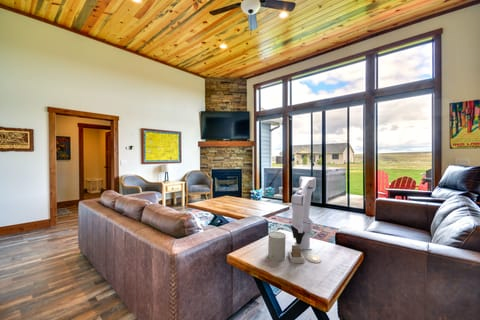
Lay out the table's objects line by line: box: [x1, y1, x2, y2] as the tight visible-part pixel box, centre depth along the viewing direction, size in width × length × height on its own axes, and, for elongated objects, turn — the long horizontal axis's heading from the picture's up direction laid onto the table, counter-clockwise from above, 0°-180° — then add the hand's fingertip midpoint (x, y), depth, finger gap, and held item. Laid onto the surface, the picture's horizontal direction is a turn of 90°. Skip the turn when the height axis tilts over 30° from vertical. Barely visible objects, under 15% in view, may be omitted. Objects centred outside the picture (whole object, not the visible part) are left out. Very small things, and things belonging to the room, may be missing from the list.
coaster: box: [305, 254, 323, 264], centre depth 116 cm, size 8×8×1 cm
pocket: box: [287, 250, 305, 264], centre depth 115 cm, size 7×7×2 cm
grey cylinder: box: [267, 231, 287, 262], centre depth 118 cm, size 10×10×12 cm
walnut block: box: [291, 244, 302, 257], centre depth 115 cm, size 4×4×7 cm
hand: (296, 240), depth 115 cm, fingers open, 7 cm apart
